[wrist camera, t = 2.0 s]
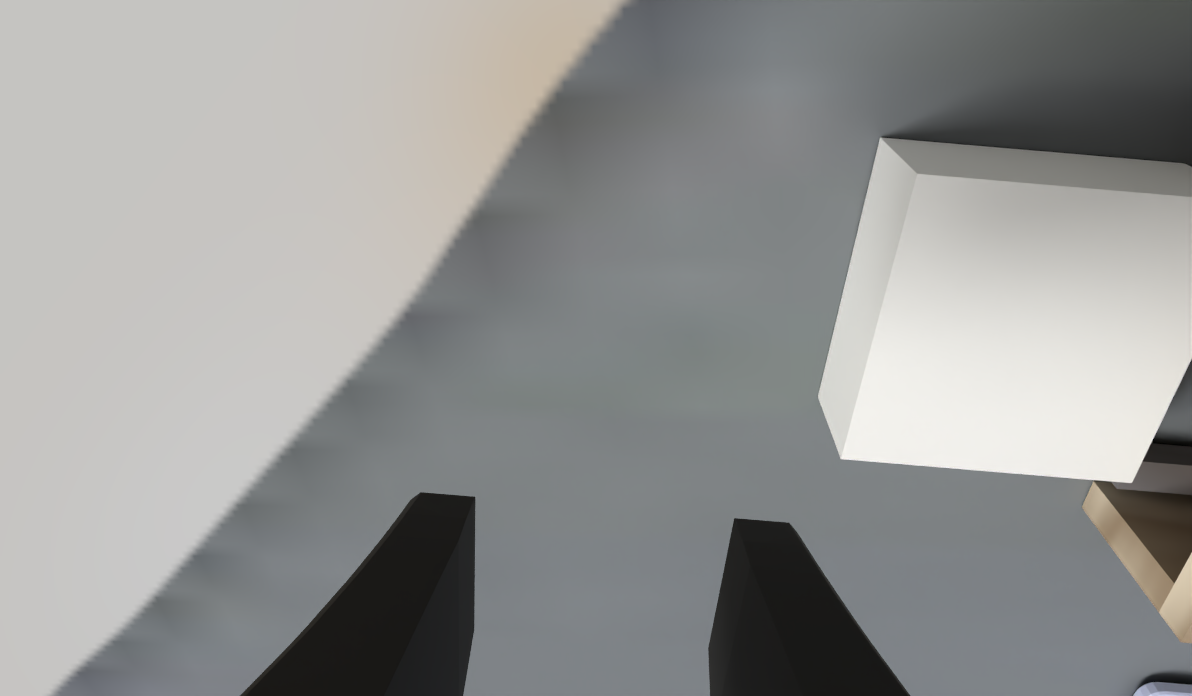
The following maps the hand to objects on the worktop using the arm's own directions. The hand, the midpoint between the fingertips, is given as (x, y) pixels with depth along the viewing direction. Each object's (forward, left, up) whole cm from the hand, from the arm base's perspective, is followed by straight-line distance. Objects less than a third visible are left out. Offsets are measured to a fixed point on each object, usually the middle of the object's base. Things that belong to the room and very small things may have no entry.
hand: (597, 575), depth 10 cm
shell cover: (0, -8, -9) cm, 12 cm away
